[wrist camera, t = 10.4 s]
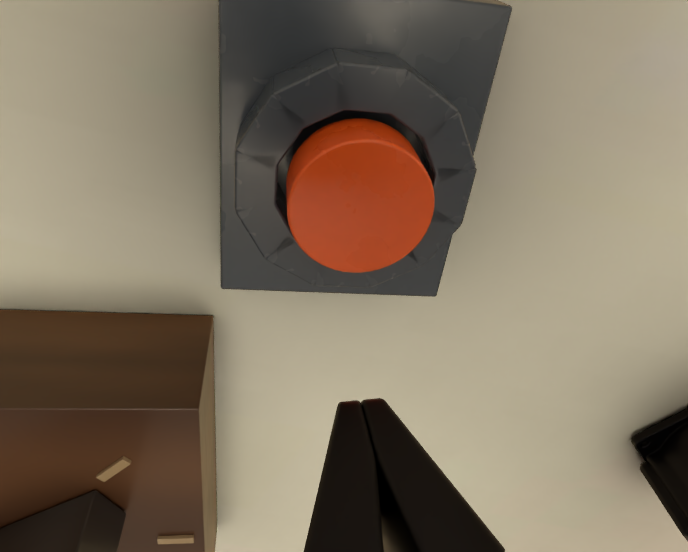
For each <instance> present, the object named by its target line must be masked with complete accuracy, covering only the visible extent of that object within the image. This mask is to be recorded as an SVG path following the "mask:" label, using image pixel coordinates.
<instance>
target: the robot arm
mask: <svg viewBox="0 0 688 552" xmlns="http://www.w3.org/2000/svg"><path fill="white" fill-rule="evenodd" d="M631 442H632V444H633V445H634V447H635V448H636V450H637V451H638V452H639V454H640V455H641V456H642V458H643V459H644V460H645V462H644V463H642V464H641V466H640V470H641V472H642V473H643V475H644V476H645V478H646V479H647V481H648V482H649V484H650V485H651V487H652V489H653V490H654V492H655V493H656V495H657V496H658V498H659V499H660V501H661V502H662V504H663V506H664V507H665V509H666V510H667V512H668V513H669V515H670V516H671V518H672V519H673V521H674V522H675V524H676V526H677V527H678V529H679V530H680V532H681V533H682V535H683V536H684V537H685V538H686V540H687V541H688V409H686V410H684V411H682V412H680V413H678V414H676V415H674V416H672V417H670V418H668V419H666V420H664V421H662V422H660V423H658V424H656V425H654V426H652V427H650V428H648V429H646V430H644V431H642V432H640V433H638V434H637V435H635V436H634V437H633V438H632V440H631ZM304 552H505V549H504V548H503V546H502V545H501V544H500V543H499V541H498V540H497V539H496V538H495V536H494V535H493V534H492V533H491V531H490V530H489V529H488V528H487V526H486V525H485V524H484V523H483V521H482V520H481V519H480V518H479V517H478V515H477V514H476V513H475V512H474V510H473V509H472V508H471V507H470V505H469V504H468V503H467V502H466V500H465V499H464V498H463V497H462V495H461V494H460V493H459V492H458V491H457V489H456V488H455V487H454V486H453V484H452V483H451V482H450V481H449V479H448V478H447V477H446V476H445V474H444V473H443V472H442V471H441V469H440V468H439V467H438V466H437V464H436V463H435V462H434V461H433V460H432V458H431V457H430V456H429V455H428V453H427V452H426V451H425V450H424V448H423V447H422V446H421V445H420V443H419V442H418V441H417V440H416V438H415V437H414V436H413V435H412V434H411V432H410V431H409V430H408V429H407V427H406V426H405V425H404V424H403V422H402V421H401V420H400V419H399V417H398V416H397V415H396V414H395V412H394V411H393V410H392V409H391V408H390V406H389V405H388V404H387V403H386V401H385V400H383V399H380V398H378V399H367V400H363V401H362V402H361V403H360V402H359V401H346V402H340V403H339V404H338V407H337V411H336V415H335V419H334V423H333V428H332V432H331V436H330V441H329V445H328V449H327V454H326V458H325V462H324V467H323V471H322V475H321V480H320V484H319V488H318V492H317V497H316V501H315V505H314V510H313V514H312V518H311V523H310V527H309V531H308V536H307V540H306V544H305V549H304Z"/></svg>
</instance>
